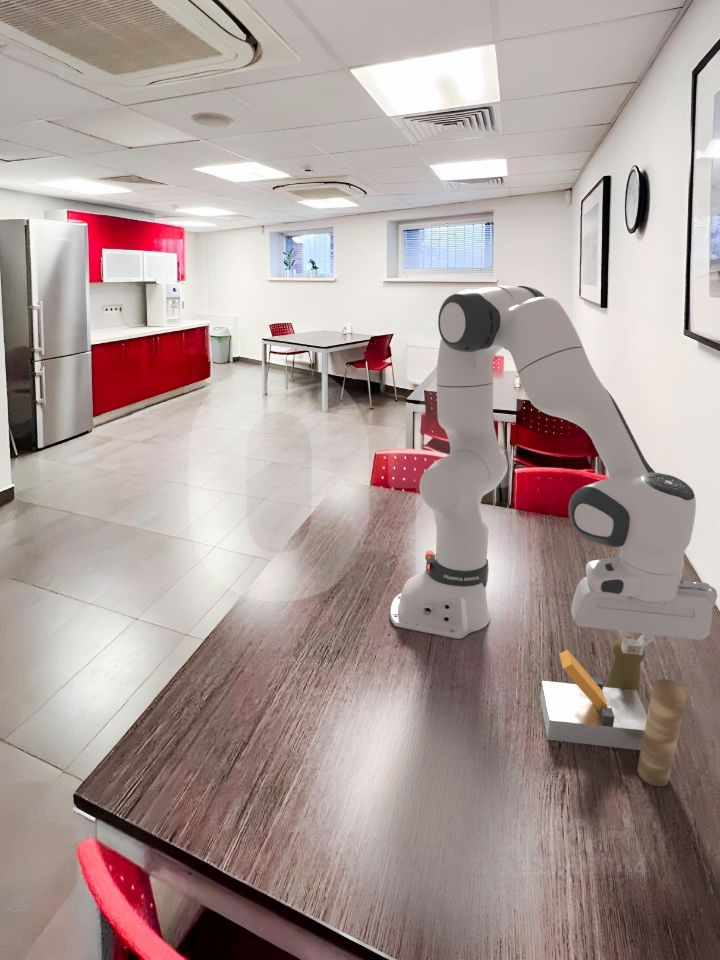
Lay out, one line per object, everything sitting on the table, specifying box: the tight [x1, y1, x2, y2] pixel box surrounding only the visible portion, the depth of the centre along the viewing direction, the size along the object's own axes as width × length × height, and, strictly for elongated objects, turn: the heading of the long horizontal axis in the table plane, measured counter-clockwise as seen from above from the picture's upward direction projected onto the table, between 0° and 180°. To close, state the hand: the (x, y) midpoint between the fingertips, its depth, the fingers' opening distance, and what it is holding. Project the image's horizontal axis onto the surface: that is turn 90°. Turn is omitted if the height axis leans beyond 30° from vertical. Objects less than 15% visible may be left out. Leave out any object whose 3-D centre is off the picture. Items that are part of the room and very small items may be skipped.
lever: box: [559, 649, 608, 711], centre depth 98 cm, size 2×4×11 cm
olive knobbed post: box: [604, 637, 646, 698], centre depth 106 cm, size 6×6×11 cm
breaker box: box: [539, 675, 648, 751], centre depth 99 cm, size 16×10×6 cm, turn 81°
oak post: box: [636, 678, 688, 787], centre depth 87 cm, size 4×4×16 cm
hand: (631, 652), depth 95 cm, fingers closed
